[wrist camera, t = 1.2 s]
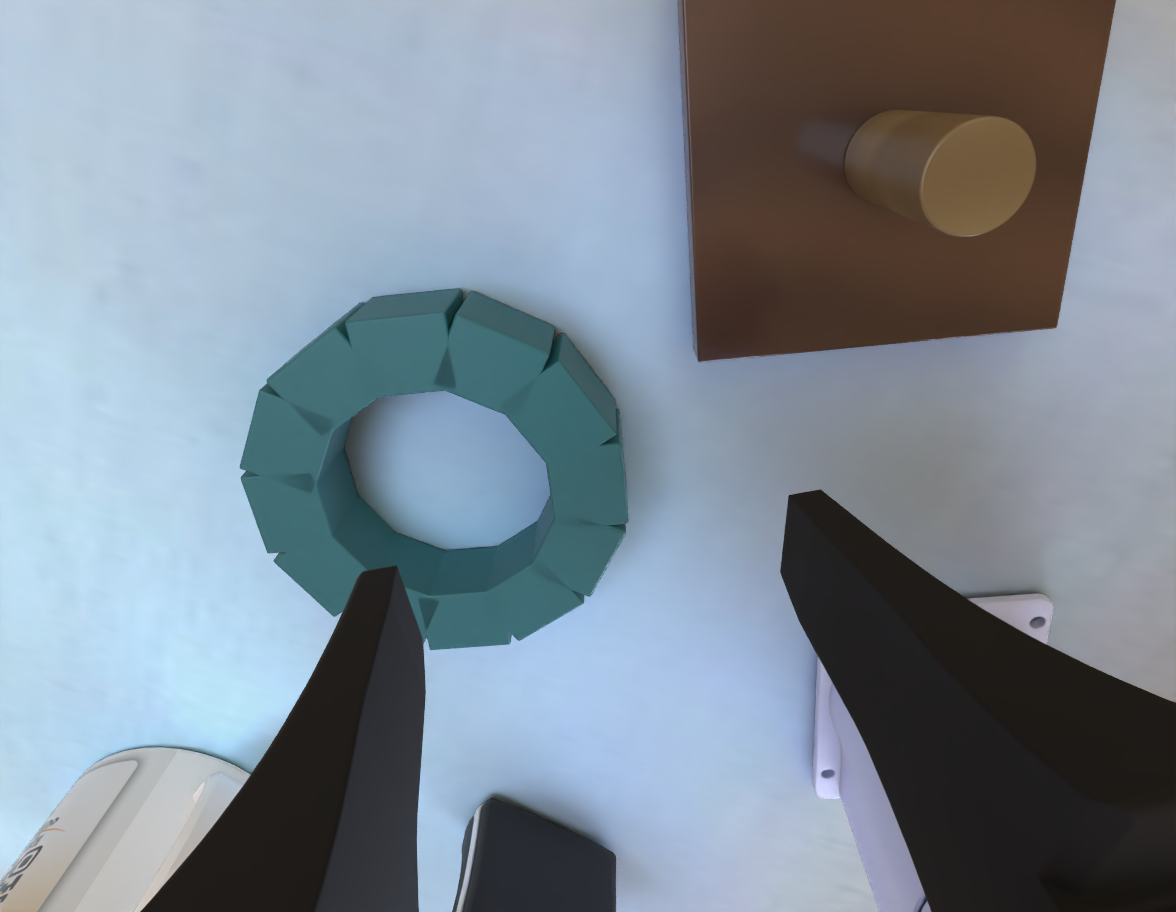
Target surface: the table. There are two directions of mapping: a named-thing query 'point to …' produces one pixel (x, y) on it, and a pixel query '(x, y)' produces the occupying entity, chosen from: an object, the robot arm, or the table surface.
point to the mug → (121, 832)
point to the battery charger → (531, 866)
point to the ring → (475, 372)
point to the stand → (882, 167)
